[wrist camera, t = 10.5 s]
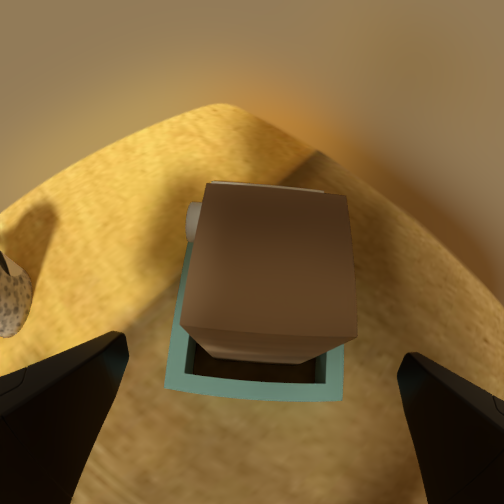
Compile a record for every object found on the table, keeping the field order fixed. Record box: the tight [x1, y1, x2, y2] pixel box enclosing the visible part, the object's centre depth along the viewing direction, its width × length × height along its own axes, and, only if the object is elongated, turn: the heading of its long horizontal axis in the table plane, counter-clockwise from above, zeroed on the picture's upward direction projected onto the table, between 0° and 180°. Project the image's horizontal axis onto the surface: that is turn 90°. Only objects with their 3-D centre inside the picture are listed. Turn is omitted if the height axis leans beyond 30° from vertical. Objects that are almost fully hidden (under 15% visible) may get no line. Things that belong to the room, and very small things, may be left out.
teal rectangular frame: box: [164, 181, 344, 402], centre depth 17 cm, size 16×10×5 cm, turn 175°
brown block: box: [179, 183, 358, 365], centre depth 13 cm, size 5×5×10 cm
